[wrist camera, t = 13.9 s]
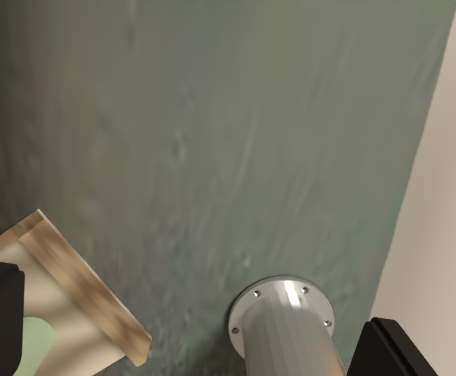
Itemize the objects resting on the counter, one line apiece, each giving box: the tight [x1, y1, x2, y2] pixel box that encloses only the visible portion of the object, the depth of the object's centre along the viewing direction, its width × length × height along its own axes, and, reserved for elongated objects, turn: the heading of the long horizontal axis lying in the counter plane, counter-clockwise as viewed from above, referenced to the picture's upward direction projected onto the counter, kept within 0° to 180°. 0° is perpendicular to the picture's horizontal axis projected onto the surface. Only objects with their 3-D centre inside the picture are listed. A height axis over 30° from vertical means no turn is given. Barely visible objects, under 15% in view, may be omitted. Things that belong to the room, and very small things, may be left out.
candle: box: [13, 317, 55, 376], centre depth 38 cm, size 5×5×8 cm
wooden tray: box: [0, 209, 152, 376], centre depth 40 cm, size 20×20×4 cm
